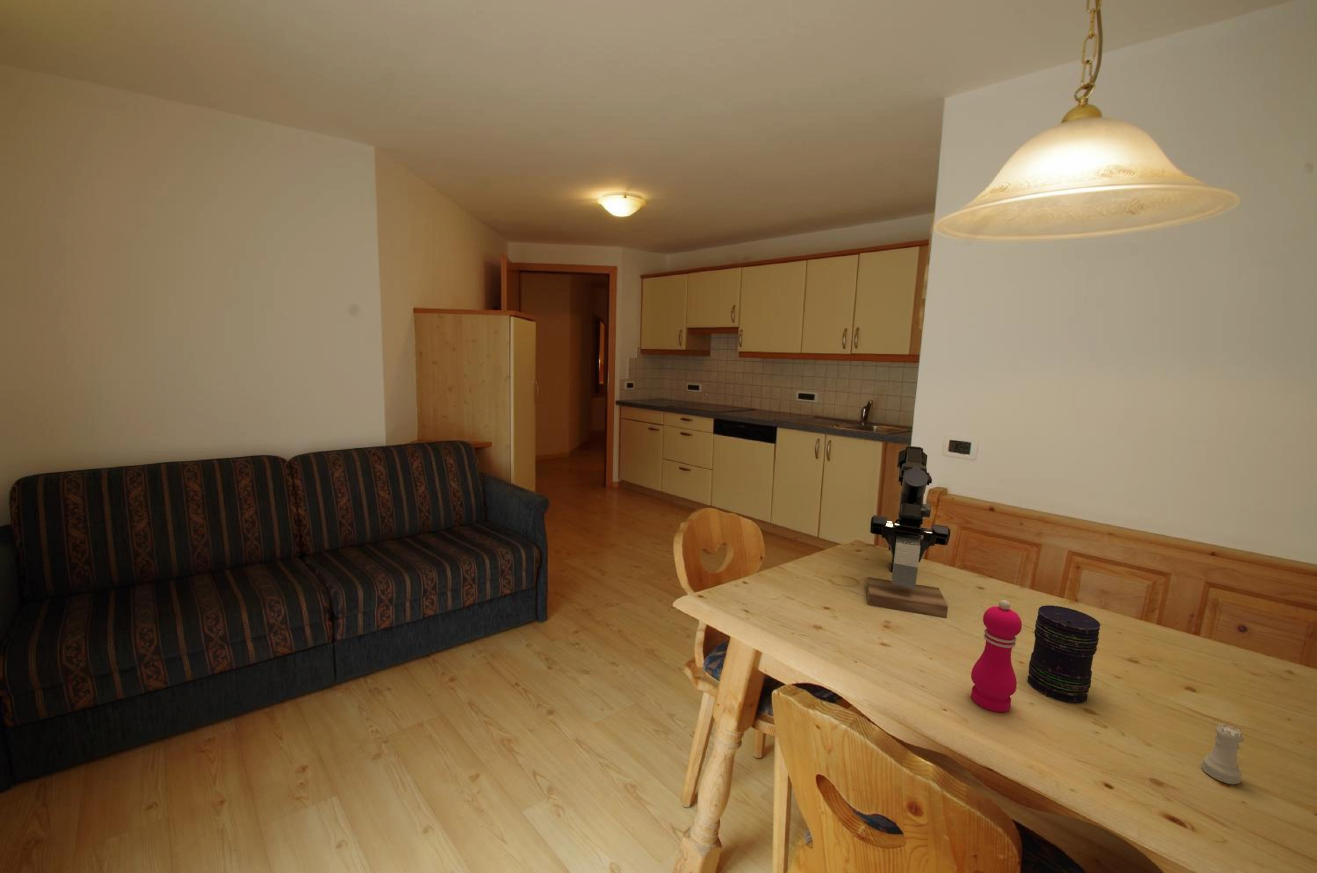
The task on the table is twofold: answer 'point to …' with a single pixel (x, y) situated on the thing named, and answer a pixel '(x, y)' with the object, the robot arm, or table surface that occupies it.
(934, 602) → the stand
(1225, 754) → the rook chess piece
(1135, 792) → the table surface
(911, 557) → the block
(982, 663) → the pepper mill
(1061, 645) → the dark ridged cylinder
